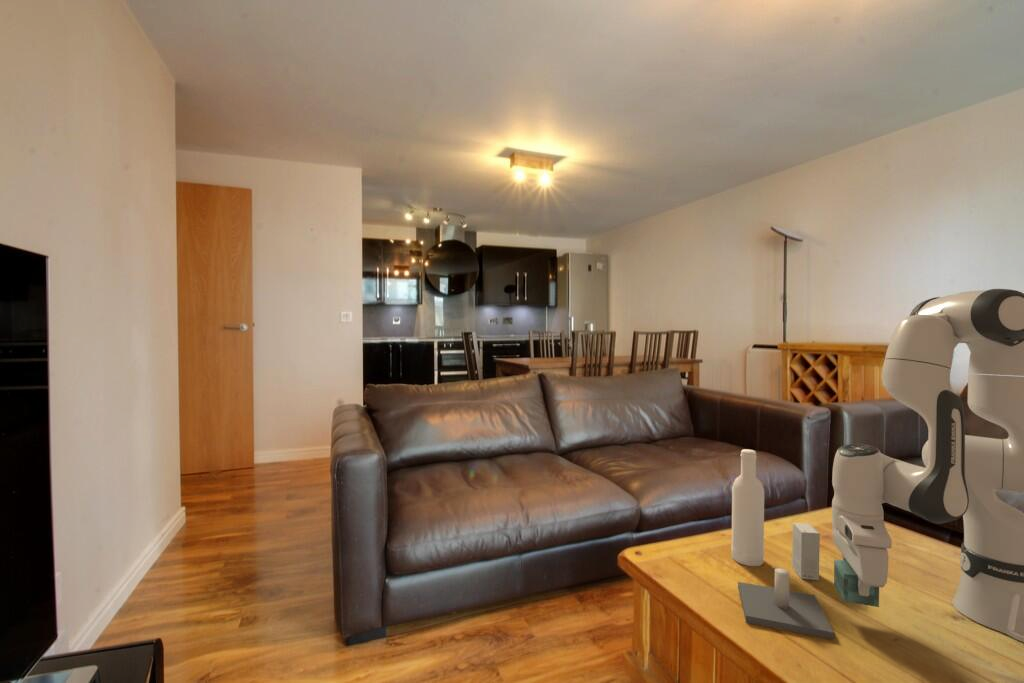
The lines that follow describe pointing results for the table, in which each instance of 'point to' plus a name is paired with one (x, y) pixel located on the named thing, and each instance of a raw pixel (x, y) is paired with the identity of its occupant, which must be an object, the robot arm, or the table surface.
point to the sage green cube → (852, 585)
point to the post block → (784, 608)
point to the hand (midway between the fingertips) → (856, 584)
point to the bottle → (748, 513)
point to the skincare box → (805, 551)
